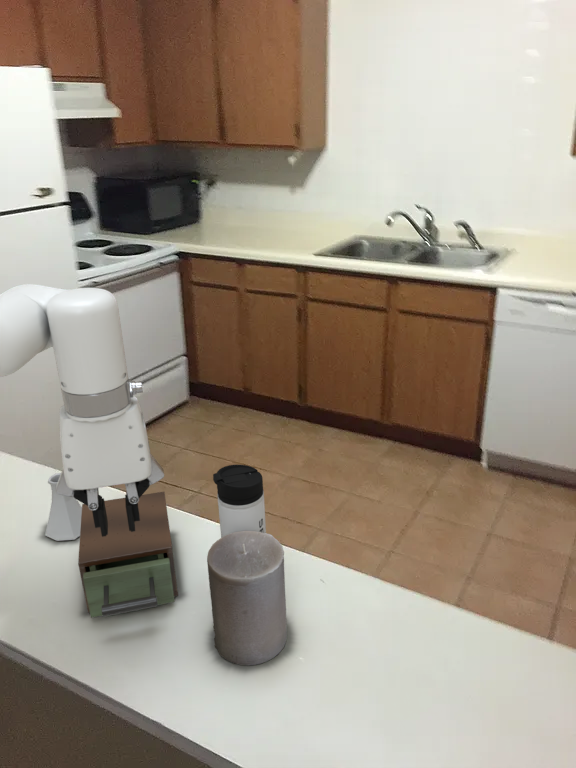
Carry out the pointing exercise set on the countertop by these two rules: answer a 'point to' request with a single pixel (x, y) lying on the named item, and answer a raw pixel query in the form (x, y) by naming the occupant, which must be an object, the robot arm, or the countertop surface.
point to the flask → (63, 515)
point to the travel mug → (240, 499)
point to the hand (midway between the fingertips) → (118, 526)
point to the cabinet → (126, 535)
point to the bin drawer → (128, 585)
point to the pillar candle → (248, 597)
